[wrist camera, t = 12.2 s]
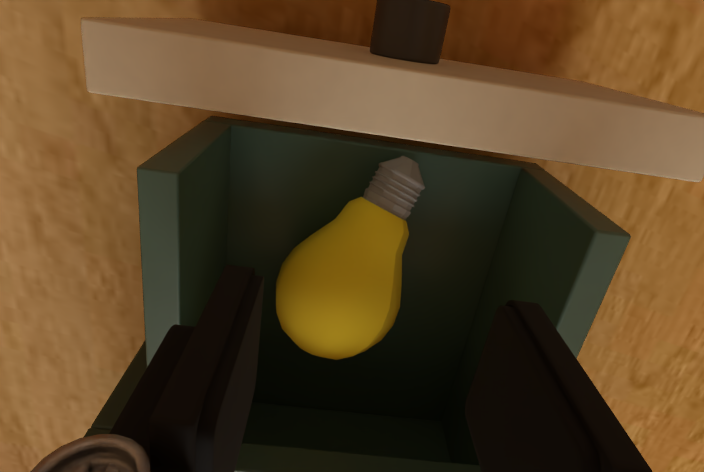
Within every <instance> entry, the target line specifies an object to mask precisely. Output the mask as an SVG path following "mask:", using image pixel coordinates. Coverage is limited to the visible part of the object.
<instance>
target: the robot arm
mask: <svg viewBox="0 0 704 472" xmlns="http://www.w3.org/2000/svg"><path fill="white" fill-rule="evenodd" d="M263 287H264V276H257V275H255V269H254V268H250V267H242V266H234V265H226V266H225V268H224V270H223V272H222V274H221V276H220V278H219V280H218V282H217V284H216V286H215V288H214V290H213V292H212V294H211V296H210V298H209V300H208V302H207V304H206V306H205V308H204V310H203V312H202V314H201V317H200V319H199V321H198V323H197V325H196V327H194V326H185V325H176V324H175V325H173V326H171V328H170V329H169V330H168V332H167V334H166V335H165V337H164V339H163V341H162V342H161V344H160V346H159V348H158V349H157V351H156V353H155V355H154V356H153V358H152V360H151V362H150V363H149V365H148V367H147V369H146V370H145V372H144V374H143V375H142V377H141V379H140V381H139V382H138V384H137V386H136V388H135V389H134V391H133V393H132V395H131V396H130V398H129V400H128V402H127V403H126V405H125V407H124V409H123V410H122V412H121V414H120V416H119V417H118V419H117V421H116V422H115V424H114V426H113V428H112V429H111V431H110V433H109V434H98V435H93V436H88V437H84V438H80V439H77V440H75V441H73V442H70V443H68V444H66V445H63V446H61V447H59V448H58V449H57V450H55V451H54V452H52V453H51V454H49V455H48V456H46V457H45V458H43V459H42V460H41V461H40V462H39V463H38V465H37V466H36V467H35V468H34V469H33V470H32V471H31V472H235V468H236V464H237V460H238V456H239V452H240V448H241V444H242V440H243V436H244V432H245V428H246V424H247V420H248V416H249V412H250V408H251V404H252V399H253V395H254V390H255V384H256V376H257V363H258V350H259V338H260V325H261V312H262V300H263ZM465 417H466V421H467V424H468V427H469V431H470V434H471V438H472V441H473V444H474V448H475V451H476V454H477V458H478V461H479V464H480V468H481V471H482V472H652V470H651V469H650V467H649V466H648V464H647V463H646V461H645V460H644V458H643V457H642V455H641V454H640V452H639V451H638V449H637V448H636V446H635V445H634V443H633V442H632V440H631V439H630V437H629V436H628V435H627V433H626V432H625V430H624V429H623V427H622V426H621V424H620V423H619V421H618V420H617V418H616V417H615V415H614V414H613V412H612V411H611V409H610V408H609V406H608V405H607V403H606V402H605V400H604V399H603V398H602V396H601V395H600V393H599V392H598V390H597V389H596V387H595V386H594V384H593V383H592V381H591V380H590V378H589V377H588V375H587V374H586V372H585V371H584V369H583V368H582V366H581V365H580V364H579V362H578V361H577V359H576V358H575V356H574V355H573V353H572V352H571V350H570V349H569V347H568V346H567V344H566V343H565V341H564V340H563V338H562V337H561V335H560V334H559V332H558V331H557V330H556V328H555V327H554V325H553V324H552V322H551V321H550V319H549V318H548V316H547V315H546V313H545V312H544V310H543V309H542V307H541V306H540V305H539V304H538V303H532V302H524V301H516V300H509V301H508V302H507V303H506V304H505V306H499V307H498V308H497V310H496V312H495V315H494V318H493V321H492V324H491V327H490V330H489V333H488V336H487V339H486V342H485V345H484V348H483V351H482V354H481V357H480V360H479V363H478V366H477V369H476V372H475V375H474V378H473V381H472V383H471V386H470V389H469V392H468V395H467V398H466V402H465Z"/></svg>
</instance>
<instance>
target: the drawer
mask: <svg viewBox="0 0 704 472" xmlns="http://www.w3.org/2000/svg"><path fill="white" fill-rule="evenodd" d="M449 13H450V6H449V5H447V4H444V3H440V2H435V1H430V0H377V5H376V12H375V18H374V25H373V31H372V38H371V44H370V47H365V46H359V45H353V44H346V43H340V42H334V41H328V40H322V39H315V38H309V37H303V36H297V35H291V34H284V33H278V32H272V31H266V30H260V29H253V28H247V27H241V26H235V25H229V24H222V23H216V22H210V21H204V20H198V19H191V18H105V17H83V18H81V30H82V41H83V52H84V63H85V74H86V85H87V91H88V92H90V93H96V94H103V95H110V96H116V97H123V98H130V99H137V100H143V101H150V102H157V103H164V104H171V105H177V106H184V107H191V108H198V109H204V110H211V111H218V112H225V113H232V114H238V115H245V116H252V117H259V118H265V119H272V120H279V121H286V122H293V123H299V124H306V125H313V126H320V127H327V128H333V129H340V130H347V131H354V132H360V133H367V134H374V135H381V136H388V137H394V138H401V139H408V140H415V141H421V142H428V143H435V144H442V145H449V146H455V147H462V148H469V149H476V150H482V151H489V152H496V153H503V154H510V155H516V156H523V157H530V158H537V159H543V160H550V161H557V162H564V163H571V164H577V165H584V166H591V167H598V168H604V169H611V170H618V171H625V172H632V173H638V174H645V175H652V176H659V177H666V178H672V179H679V180H686V181H693V182H700V181H701V180H702V179H703V177H704V113H701V112H697V111H693V110H689V109H686V108H682V107H678V106H674V105H670V104H666V103H663V102H659V101H655V100H651V99H647V98H643V97H640V96H636V95H632V94H628V93H624V92H620V91H617V90H613V89H609V88H605V87H601V86H597V85H594V84H590V83H586V82H582V81H576V80H570V79H564V78H557V77H551V76H545V75H539V74H533V73H526V72H520V71H514V70H508V69H502V68H495V67H489V66H483V65H477V64H471V63H464V62H458V61H452V60H446V59H440V55H441V51H442V46H443V41H444V37H445V32H446V27H447V23H448V18H449ZM401 156H405V157H408V158H409V159H411V160H413V161H415V162H416V163H418V164H419V166H418V167H419V170H420V173H421V177H422V180H423V183H424V186H425V188H424V189H423V190H421V192H420V193H419V194H420V196H418V197H417V201H416V202H415V203H414V206H415V207H412V208H411V210H410V212H411V213H410V215H409V216H408V217H407V218H406V222H407V226H408V231H409V236H408V239H407V242H406V245H405V248H404V251H403V254H402V286H401V300H400V308H399V311H398V314H397V316H396V319H395V322H394V324H393V326H392V327H391V329H390V330H389V331H388V332H387V334H386V335H385V336H384V337H383V339H382V340H381V341H380V342H378V343H377V344H375V345H373V346H372V347H370V348H369V349H367V350H366V351H364V352H362V353H359V354H357V355H354V356H351V357H347V358H343V359H338V360H335V359H329V358H324V357H319V356H315V355H312V354H310V353H308V352H306V351H304V350H303V349H301V348H300V347H299V346H298V345H297V344H296V343H294V342H293V340H292V339H291V338H290V337H289V336H288V335H287V334H286V333H285V332H284V330H283V329H282V327H281V324H280V321H279V318H278V316H277V313H276V280H277V278H278V275H279V272H280V269H281V266H282V263H283V262H284V261H285V259H286V258H287V257H288V255H289V254H290V253H291V251H292V250H293V249H294V248H295V247H296V246H297V245H299V244H300V243H301V242H303V241H304V240H305V239H307V238H308V237H309V236H310V235H312V234H313V233H315V232H316V231H318V230H319V229H321V228H322V227H324V226H325V225H327V224H328V223H330V222H331V221H333V220H334V219H336V217H337V216H338V215H339V214H340V212H341V211H342V210H343V208H344V207H345V206H346V205H347V203H348V202H349V201H351V200H354V199H357V198H359V197H363V196H364V192H365V189H366V188H368V187H369V185H370V183H369V182H371V181H372V180H373V178H372V177H373V176H375V174H376V173H375V171H377V170H378V169H379V163H381V162H385V161H388V160H392V159H395V158H399V157H401ZM137 182H138V202H139V222H140V241H141V261H142V281H143V301H144V321H145V341H146V361H147V367H148V365H149V363H150V362H151V360H152V358H153V356H154V355H155V353H156V351H157V349H158V348H159V346H160V344H161V342H162V341H163V339H164V337H165V335H166V334H167V332H168V330H169V329H170V328H171V326H173V325H175V324H176V325H185V326H194V327H196V325H197V323H198V321H199V319H200V317H201V314H202V312H203V310H204V308H205V306H206V304H207V302H208V300H209V298H210V296H211V294H212V292H213V290H214V288H215V286H216V284H217V282H218V280H219V278H220V276H221V274H222V272H223V270H224V268H225V266H226V265H234V266H242V267H250V268H254V269H255V275H257V276H264V287H263V300H262V312H261V325H260V338H259V350H258V363H257V376H256V384H255V390H254V395H253V399H252V404H251V408H250V412H249V416H248V420H247V424H246V428H245V432H244V436H243V440H242V442H243V443H253V444H263V445H274V446H284V447H294V448H305V449H315V450H325V451H336V452H346V453H356V454H367V455H377V456H388V457H398V458H408V459H419V460H429V461H439V462H450V463H460V464H470V465H480V464H479V461H478V458H477V454H476V451H475V448H474V444H473V441H472V438H471V434H470V431H469V427H468V424H467V421H466V417H465V402H466V398H467V395H468V392H469V389H470V386H471V383H472V381H473V378H474V375H475V372H476V369H477V366H478V363H479V360H480V357H481V354H482V351H483V348H484V345H485V342H486V339H487V336H488V333H489V330H490V327H491V324H492V321H493V318H494V315H495V312H496V310H497V308H498V307H499V306H505V304H506V303H507V302H508V301H509V300H516V301H524V302H532V303H538V304H539V305H540V306H541V307H542V309H543V310H544V312H545V313H546V315H547V316H548V318H549V319H550V321H551V322H552V324H553V325H554V327H555V328H556V330H557V331H558V332H559V334H560V335H561V337H562V338H563V340H564V341H565V343H566V344H567V346H568V347H569V349H570V350H571V352H572V353H573V355H574V356H575V358H577V356H578V354H579V352H580V349H581V347H582V345H583V343H584V341H585V338H586V336H587V334H588V332H589V329H590V327H591V325H592V323H593V320H594V318H595V316H596V314H597V312H598V309H599V307H600V305H601V303H602V300H603V298H604V296H605V294H606V291H607V289H608V287H609V285H610V283H611V280H612V278H613V276H614V274H615V271H616V269H617V267H618V265H619V263H620V260H621V258H622V256H623V254H624V251H625V249H626V247H627V245H628V242H629V240H630V237H631V236H630V234H628V233H627V232H626V231H625V230H623V229H622V228H621V227H619V226H618V225H617V224H615V223H614V222H613V221H611V220H610V219H609V218H607V217H606V216H605V215H603V214H602V213H601V212H599V211H598V210H597V209H595V208H594V207H593V206H592V205H590V204H589V203H588V202H586V201H585V200H584V199H582V198H581V197H580V196H578V195H577V194H576V193H574V192H573V191H572V190H570V189H569V188H568V187H566V186H565V185H564V184H562V183H561V182H560V181H559V180H557V179H556V178H555V177H553V176H552V175H551V174H549V173H548V172H547V171H545V170H544V169H543V168H541V167H540V166H539V165H537V164H536V163H530V162H524V161H517V160H510V159H503V158H496V157H489V156H483V155H476V154H469V153H462V152H455V151H449V150H442V149H435V148H428V147H421V146H414V145H408V144H401V143H394V142H387V141H380V140H374V139H367V138H360V137H353V136H346V135H339V134H333V133H326V132H319V131H312V130H305V129H299V128H292V127H285V126H278V125H271V124H265V123H258V122H251V121H244V120H237V119H230V118H224V117H217V116H210V117H209V118H208V119H206V120H205V121H203V122H201V123H200V124H198V125H197V126H196V127H194V128H193V129H191V130H190V131H188V132H187V133H186V134H184V135H183V136H181V137H180V138H178V139H177V140H176V141H174V142H173V143H171V144H170V145H168V146H167V147H166V148H164V149H163V150H161V151H160V152H159V153H157V154H156V155H154V156H153V157H151V158H150V159H149V160H147V161H146V162H144V163H143V164H141V165H140V166H139V167H137Z"/></svg>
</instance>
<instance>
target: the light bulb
mask: <svg viewBox="0 0 704 472" xmlns="http://www.w3.org/2000/svg"><path fill="white" fill-rule="evenodd" d="M418 166H419V164H418V163H416V162H415V161H413V160H411V159H409V158H408V157H405V156H401V157H399V158H395V159H392V160H388V161H385V162H381V163H379V169H378V170H377V171H375V173H376V174H375V176H373V177H372V178H373V180H372V181H371V182H369V183H370V185H369V187H368V188H366V189H365V192H364V196H363V197H359V198H357V199H354V200H351V201H349V202H348V203H347V205H346V206H345V207H344V208H343V210H342V211H341V212H340V214H339V215H338V216H337V217H336V219H334V220H333V221H331V222H330V223H328V224H327V225H325V226H324V227H322V228H321V229H319V230H318V231H316V232H315V233H313V234H312V235H310V236H309V237H308V238H307V239H305V240H304V241H303V242H301V243H300V244H299V245H297V246H296V247H295V248H294V249H293V250H292V251H291V253H290V254H289V255H288V257H287V258H286V259H285V261H284V262H283V263H282V266H281V269H280V272H279V275H278V278H277V280H276V313H277V316H278V318H279V321H280V324H281V327H282V329H283V330H284V332H285V333H286V334H287V335H288V336H289V337H290V338H291V339H292V340H293V342H294V343H296V344H297V345H298V346H299V347H300V348H301V349H303V350H304V351H306V352H308V353H310V354H312V355H315V356H319V357H324V358H329V359H335V360H338V359H343V358H347V357H351V356H354V355H357V354H359V353H362V352H364V351H366V350H367V349H369V348H370V347H372V346H373V345H375V344H377V343H378V342H380V341H381V340H382V339H383V337H384V336H385V335H386V334H387V332H388V331H389V330H390V329H391V327H392V326H393V324H394V322H395V319H396V316H397V314H398V311H399V308H400V300H401V286H402V254H403V251H404V248H405V245H406V242H407V239H408V236H409V231H408V226H407V222H406V218H407V217H408V216H409V215H410V213H411V212H410V210H411V208H412V207H415V206H414V203H415V202H416V201H417V197H418V196H420V194H419V193H420V192H421V190H423V189H424V188H425V186H424V183H423V180H422V177H421V173H420V170H419V167H418Z"/></svg>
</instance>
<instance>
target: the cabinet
mask: <svg viewBox="0 0 704 472" xmlns="http://www.w3.org/2000/svg"><path fill="white" fill-rule="evenodd" d="M146 369H147V361H146V341H144V343H143V345H142V346H141V348H140V349H139V351H138V353H137V354H136V356H135V357H134V359H133V361H132V362H131V364H130V365H129V367H128V368H127V370H126V372H125V373H124V375H123V376H122V378H121V380H120V381H119V383H118V384H117V386H116V388H115V389H114V391H113V392H112V394H111V395H110V397H109V399H108V400H107V402H106V403H105V405H104V407H103V408H102V410H101V411H100V413H99V415H98V416H97V418H96V419H95V421H94V423H93V424H92V426H91V428H89V429H88V431H87V433H86V434H85V436H84V437H88V436H93V435H98V434H109V433H110V431H111V429H112V428H113V426H114V424H115V422H116V421H117V419H118V417H119V416H120V414H121V412H122V410H123V409H124V407H125V405H126V403H127V402H128V400H129V398H130V396H131V395H132V393H133V391H134V389H135V388H136V386H137V384H138V382H139V381H140V379H141V377H142V375H143V374H144V372H145V370H146ZM84 437H83V438H84ZM235 472H482V471H481V468H480V465H470V464H460V463H450V462H439V461H429V460H419V459H408V458H398V457H388V456H377V455H367V454H356V453H346V452H336V451H325V450H315V449H305V448H294V447H284V446H274V445H263V444H253V443H243V442H242V444H241V448H240V452H239V456H238V460H237V464H236V468H235Z"/></svg>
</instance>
